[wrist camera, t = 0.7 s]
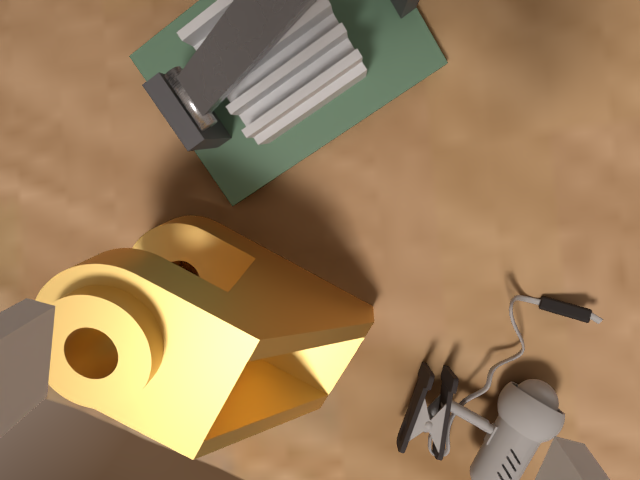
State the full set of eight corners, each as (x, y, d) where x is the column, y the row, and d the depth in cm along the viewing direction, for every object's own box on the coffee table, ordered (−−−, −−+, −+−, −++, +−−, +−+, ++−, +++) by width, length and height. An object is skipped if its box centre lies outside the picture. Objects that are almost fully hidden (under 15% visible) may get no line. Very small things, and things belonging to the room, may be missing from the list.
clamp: (130, 284, 41) (-11, 379, 25) (170, 196, 38) (40, 240, 23) (323, 386, 41) (301, 539, 26) (372, 306, 39) (381, 421, 24)
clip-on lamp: (479, 255, 40) (383, 427, 41) (503, 258, 34) (389, 462, 34) (597, 319, 40) (498, 494, 40) (645, 334, 33) (526, 541, 34)
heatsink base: (235, 204, 38) (206, 221, 31) (135, 58, 36) (78, 39, 28) (445, 64, 34) (468, 46, 27) (346, -110, 32) (342, -181, 24)
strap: (211, 127, 30) (198, 133, 29) (176, 74, 29) (161, 79, 28) (366, -30, 19) (352, -28, 18) (315, -117, 19) (299, -119, 18)
